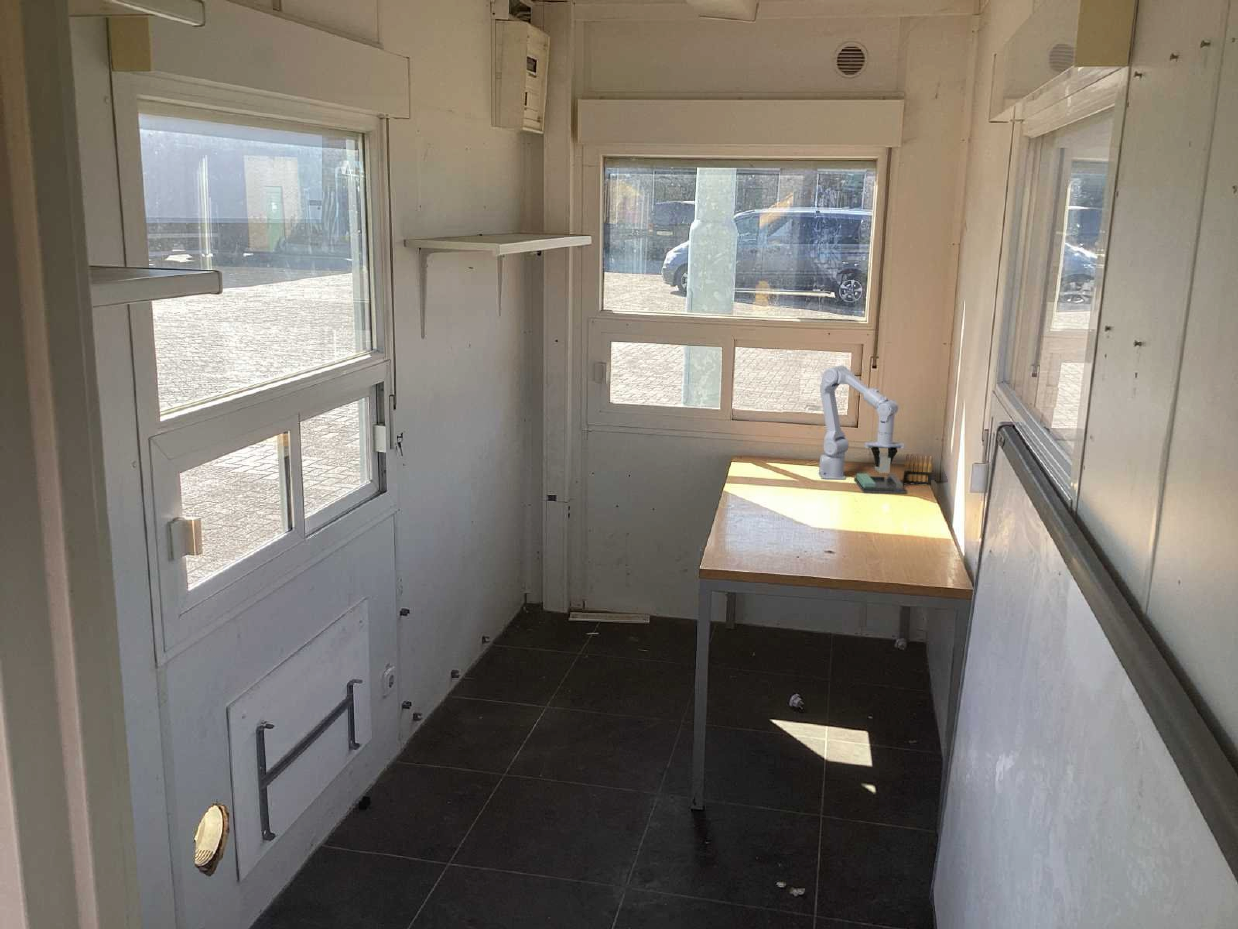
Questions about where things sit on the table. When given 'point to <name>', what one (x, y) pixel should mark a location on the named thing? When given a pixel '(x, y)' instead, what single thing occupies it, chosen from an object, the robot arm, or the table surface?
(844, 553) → the table surface
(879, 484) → the vise bed
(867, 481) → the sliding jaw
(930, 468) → the ammunition clip
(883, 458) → the steel block
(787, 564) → the table surface
